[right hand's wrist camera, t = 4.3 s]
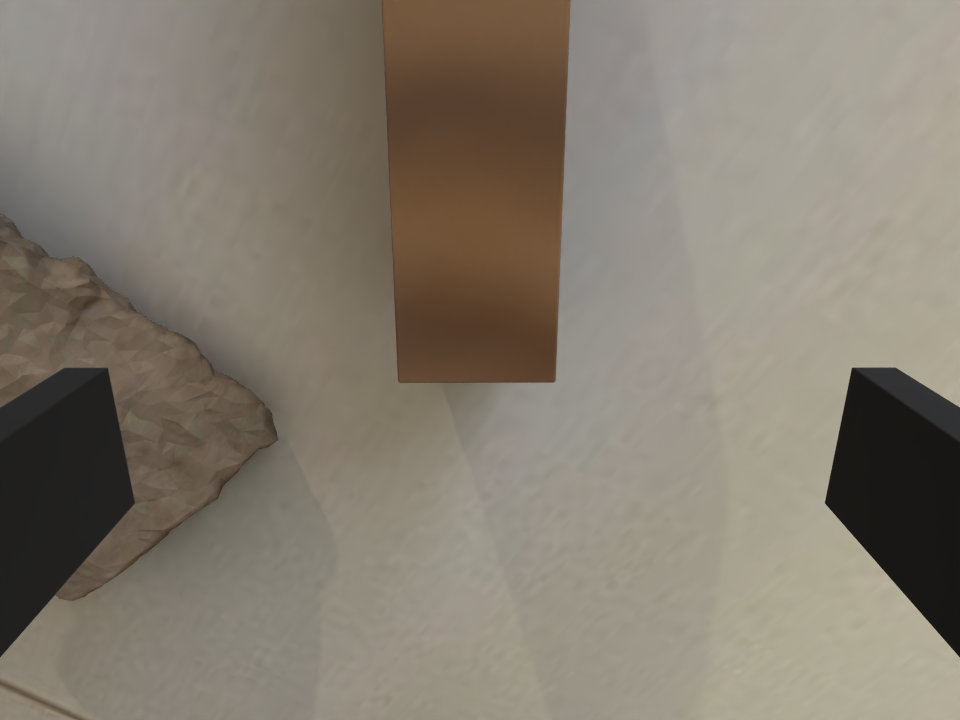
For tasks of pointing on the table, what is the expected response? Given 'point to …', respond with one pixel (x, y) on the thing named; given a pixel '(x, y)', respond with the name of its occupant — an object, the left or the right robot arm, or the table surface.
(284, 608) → the table surface
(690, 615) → the table surface
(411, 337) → the bar
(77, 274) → the stone
